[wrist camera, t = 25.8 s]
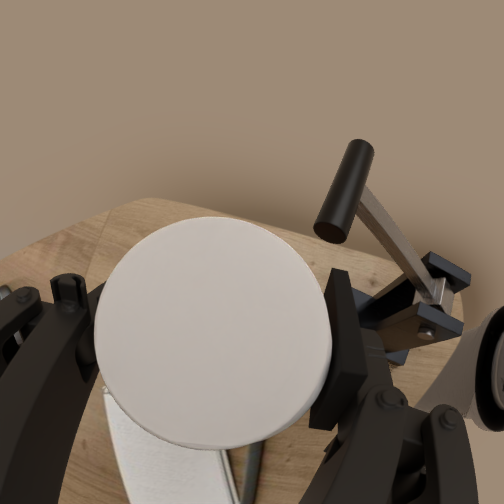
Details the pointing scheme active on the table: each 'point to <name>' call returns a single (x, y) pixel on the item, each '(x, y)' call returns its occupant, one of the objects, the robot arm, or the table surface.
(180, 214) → the table surface
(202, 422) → the pill bottle
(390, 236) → the lever
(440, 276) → the bracket
